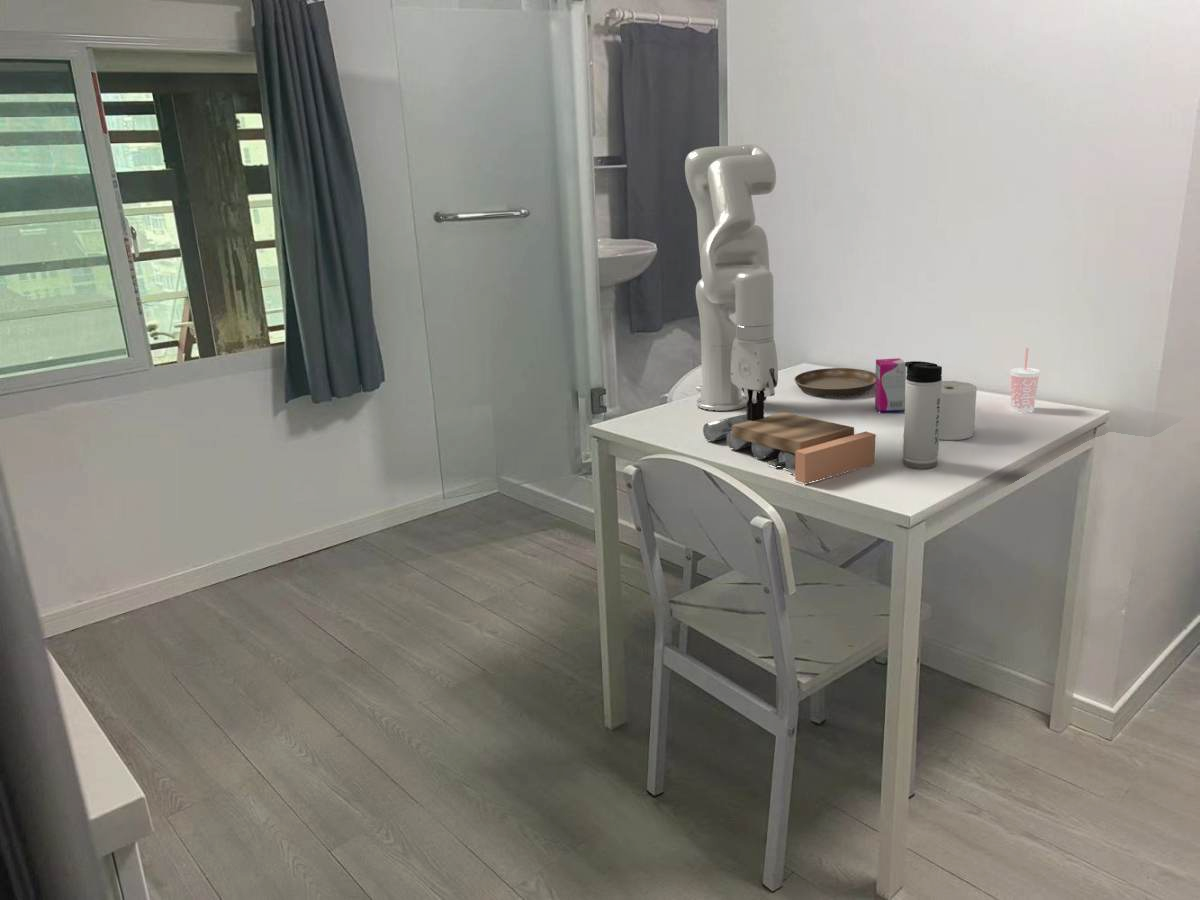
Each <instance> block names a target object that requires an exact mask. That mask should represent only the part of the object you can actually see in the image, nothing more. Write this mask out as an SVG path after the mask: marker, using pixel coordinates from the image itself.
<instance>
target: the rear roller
mask: <svg viewBox="0 0 1200 900" xmlns="http://www.w3.org/2000/svg"><path fill="white" fill-rule="evenodd" d="M747 421H750V420H747V413H744V414H743V413H742V414H738V415H734V416H732V417H726V418H723V419H719V420H716V421H715V420H714V421H710V422H706V423H704V425H703V428H702V432H703V436H704V438H705V439H707V440H706V441H708V440H710V441H711V442H714V441H718V440H722V438H723V439H727V438H726V437H727V434H728V432H730V431H732V425H735V424H739V423H743V422H747ZM710 441H709V442H710Z"/></svg>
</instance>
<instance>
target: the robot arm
mask: <svg viewBox="0 0 1200 900" xmlns="http://www.w3.org/2000/svg"><path fill="white" fill-rule="evenodd" d="M774 163H775V162H774V161H773V159H772V157H771V156H770V155H769V153H768V152H767V151H766V150H764V149H763V148H762V147H761V146H759V145H758V144H736V145H719V146H718V145H716V146H707V147H701V148H697V149H694V150H692V151H690V152H689V153H688V154H687V156H686V157H685V161H684V173H685V180H686V184H687V187H688V190H689V193H690V196H691V198H692V201H693V203H694V207H695V211H696V222H697V223H696V224H697V225H696V226H697V236H698V238H697V239H698V251H699V253H698V254H699V258H700V259H699V260H700V261H699V263H700V264H699V265H700V274H701V278H700V280H698V281H697V283H696V286H695V299H696V305H697V311H698V315H699V316H698V317H699V324H700V325H699V327H700V349H701V351H700V352H701V356H700V357H701V381H702V382H701V383H700V385H697V386H696V387H695V390H696V391H697V392H700V397H699V398H697V399H696V401H695V403H697V404H696V406H697V405H698V406H699V407H700V409H702V408H703V409H702V410H706V409H708V410H707V411H713V410H715V411H716V412H721V411H722V412H724V411H733V410H734V411H735V410H739V409H740V410H741V409H742V408H745V407H746V414H747V420H751V421H755V420H759V419H763V418H764V417H765V402H766V400H767V398H768V397H772V396H773V397H774V396H775V393H776V392H775V388H777V386H778V381H779V367H778V364H779V363H778V354H777V348H776V341H775V339H774V338H775V337H774V335H775V334H774V329H775V328H774V327H775V326H774V318H775V316H774V313H775V312H774V307H775V306H774V276H773V273H772V271H771V270H770V257H769V256H770V255H769V254H770V253H769V242H768V237H767V234H766V232H765V230H764V229H763V228H762V227H761V226H760V225H758V224H756V215H755V210H754V204H753V199H752V196H759V195H762V196H763V195H768V194H771V193H772V192H773V191H774V189H775V187H776V183H777V173H776V172H777V171H776V167H775V164H774ZM732 315H735V322H734V321H733V320H732V319H731V317H730V316H732ZM742 393H743V394H744V395H743V394H742ZM698 406H697V407H698ZM699 407H698V408H699ZM715 411H714V412H715Z"/></svg>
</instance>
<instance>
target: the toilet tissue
mask: <svg viewBox="0 0 1200 900" xmlns="http://www.w3.org/2000/svg"><path fill="white" fill-rule="evenodd" d="M941 383H942V386H941V405H940V424H939V441H940V440H944V441H958V440H966V439H969V438H972V437H973V436H974V434H975V422H976V421H975V420H976V406H977V405H976V404H977V391H978V390H977V388H978V387H977V386H976V384H975V385H974V384H973V383H969V382H966V381H965V382H964V381H957V380H942V382H941Z"/></svg>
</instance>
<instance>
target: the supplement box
mask: <svg viewBox="0 0 1200 900" xmlns="http://www.w3.org/2000/svg"><path fill="white" fill-rule="evenodd" d="M875 374H876V384H875V386H874V387H875V389H874V390H875V395H874V396H875V397H874V400H875V401H874V407H875V408H876V410H877V411H878V413H879V412H880V413H879V414H884V413H885V414H888V413H889V414H890V413H891V414H892V413H905V394H906V377H907V367H906V366H905V361H904V360H903V359H902V358H901V357H899V358H883V359H882V358H880V359H875Z"/></svg>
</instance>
